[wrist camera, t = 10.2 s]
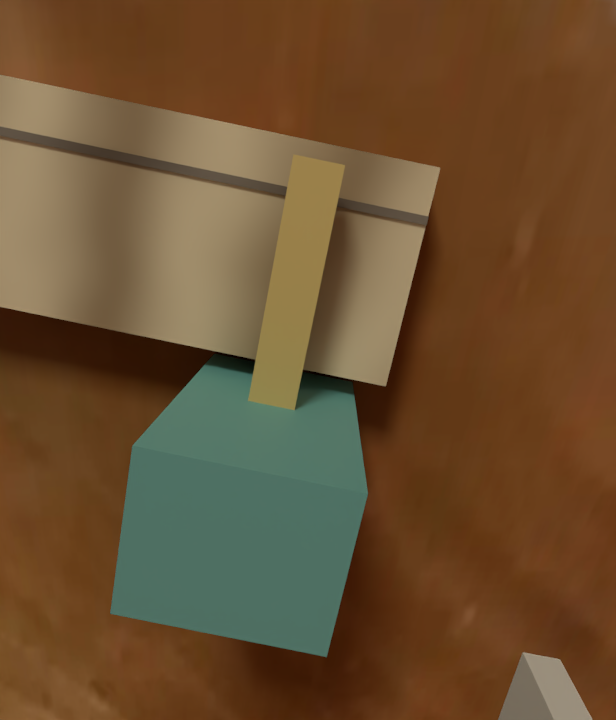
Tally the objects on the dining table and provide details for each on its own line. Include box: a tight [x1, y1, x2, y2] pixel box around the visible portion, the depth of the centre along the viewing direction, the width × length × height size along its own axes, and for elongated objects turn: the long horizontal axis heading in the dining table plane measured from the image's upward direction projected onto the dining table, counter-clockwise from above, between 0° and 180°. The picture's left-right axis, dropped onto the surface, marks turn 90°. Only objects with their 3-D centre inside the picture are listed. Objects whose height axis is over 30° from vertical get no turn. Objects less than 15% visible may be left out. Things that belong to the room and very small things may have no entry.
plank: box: [0, 75, 440, 386], centre depth 21 cm, size 23×8×3 cm, turn 78°
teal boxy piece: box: [110, 154, 368, 657], centre depth 18 cm, size 6×13×10 cm, turn 168°
